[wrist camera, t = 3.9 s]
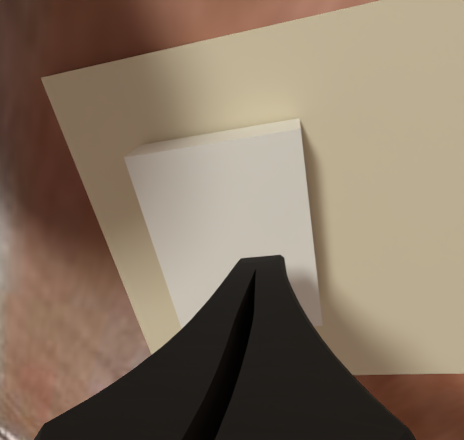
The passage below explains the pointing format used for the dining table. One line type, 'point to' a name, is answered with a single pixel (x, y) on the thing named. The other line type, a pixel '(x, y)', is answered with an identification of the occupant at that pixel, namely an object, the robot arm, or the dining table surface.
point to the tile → (227, 209)
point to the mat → (309, 164)
